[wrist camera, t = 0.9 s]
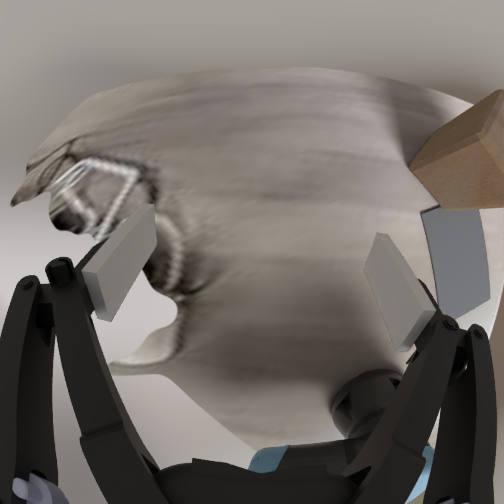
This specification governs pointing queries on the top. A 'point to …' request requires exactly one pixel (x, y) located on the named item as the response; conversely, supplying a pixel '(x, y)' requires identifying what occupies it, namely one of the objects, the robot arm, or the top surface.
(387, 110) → the top surface
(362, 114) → the top surface
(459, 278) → the mat
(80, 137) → the top surface
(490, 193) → the block
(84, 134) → the top surface
